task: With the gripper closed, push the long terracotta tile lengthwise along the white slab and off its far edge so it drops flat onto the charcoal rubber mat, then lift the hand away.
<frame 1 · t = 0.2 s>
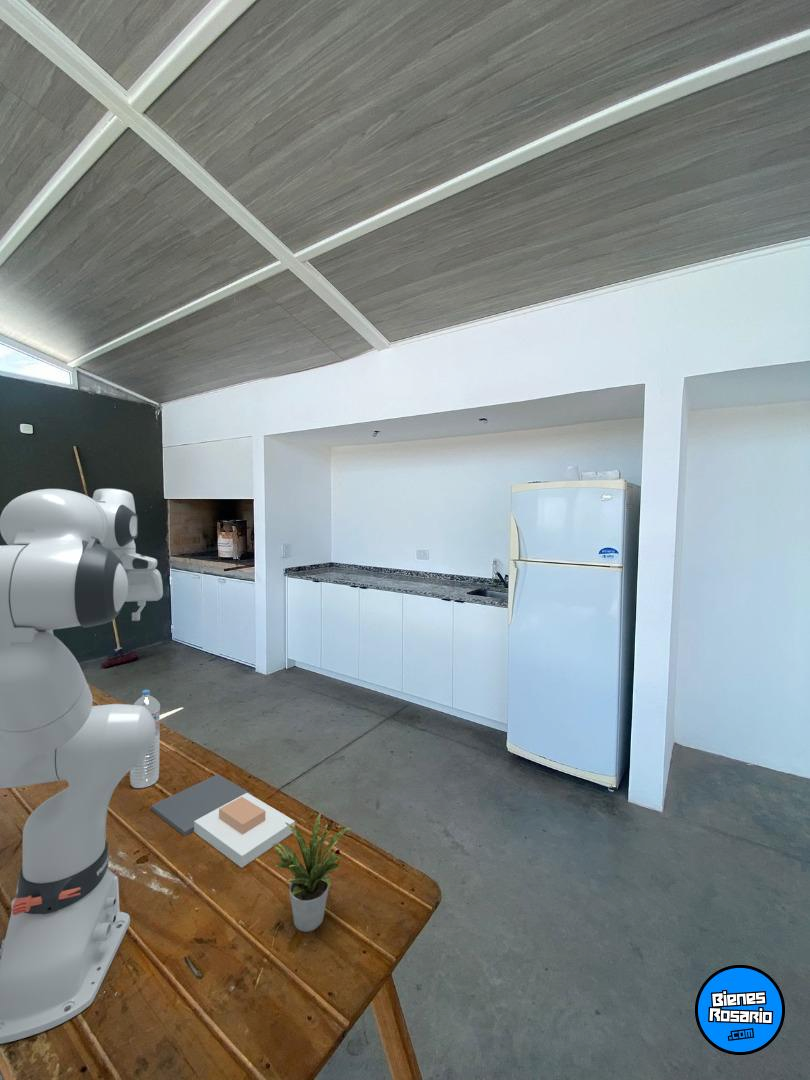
hand: (112, 621, 103), 48 cm above the table, tool pointing down, fingers open, 8 cm apart
terracotta tile: (242, 819, 104), point 2 cm above the table, touching white slab
house plant: (314, 914, 82), on the table
water bottle: (144, 782, 122), on the table
white slab: (244, 831, 103), on the table
rubber mat: (203, 803, 113), on the table
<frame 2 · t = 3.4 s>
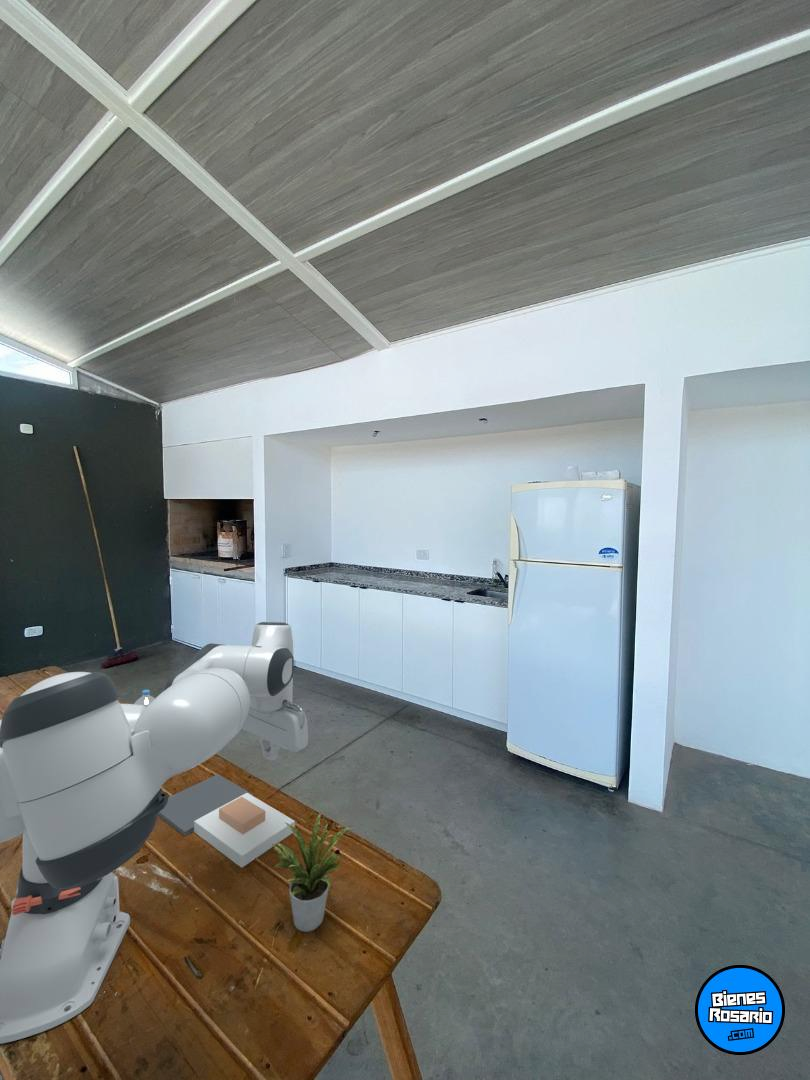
hand: (270, 758, 98), 20 cm above the table, tool pointing down, fingers closed
nothing on the table moved.
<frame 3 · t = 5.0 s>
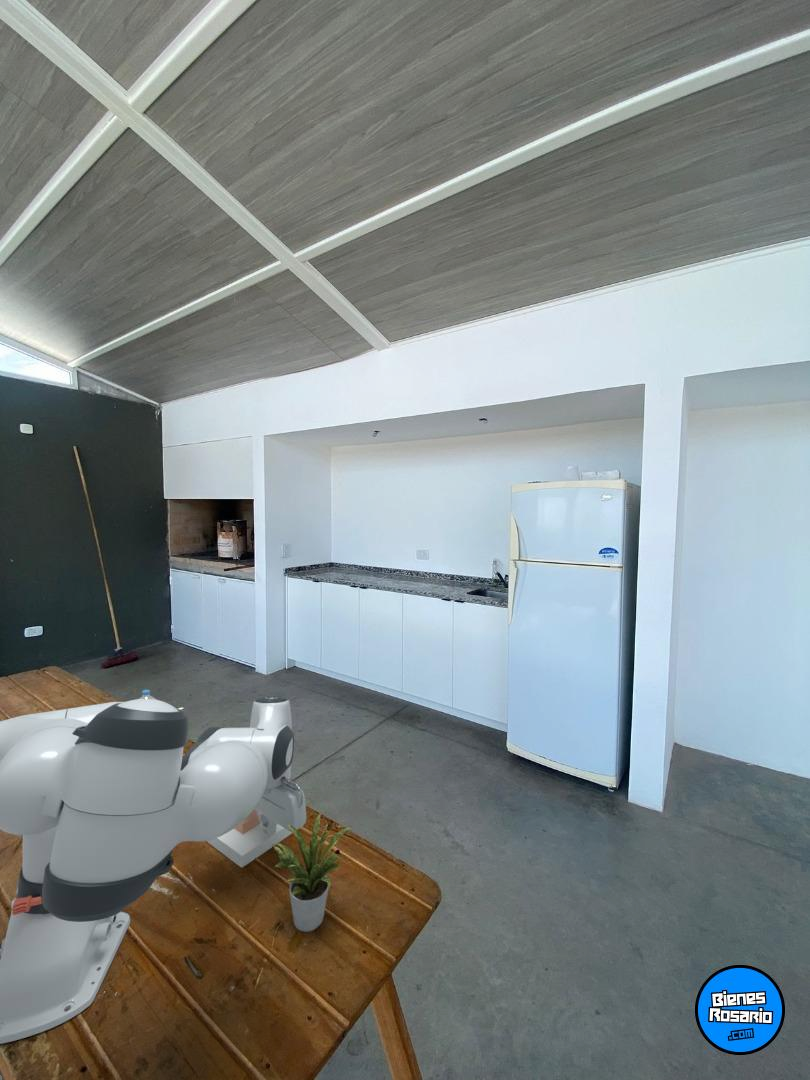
hand: (268, 832, 98), 3 cm above the table, tool pointing down, fingers closed
nothing on the table moved.
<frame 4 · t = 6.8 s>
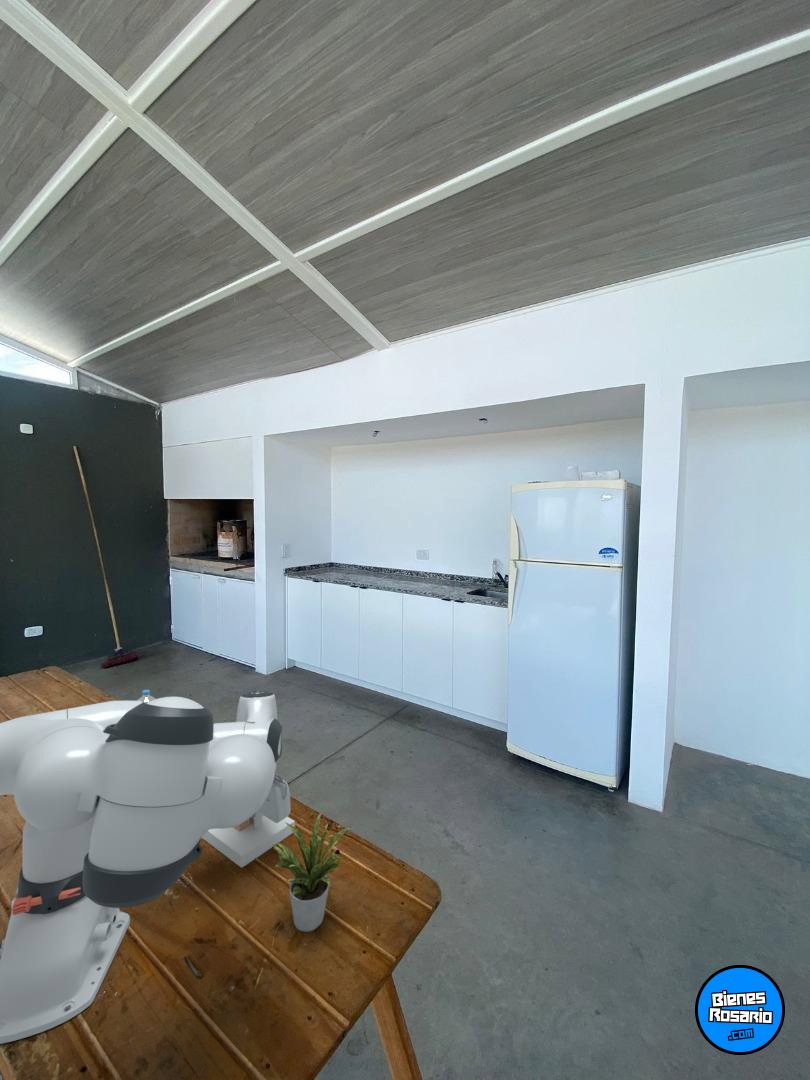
hand: (254, 823, 101), 3 cm above the table, tool pointing down, fingers closed
terracotta tile: (239, 817, 105), point 3 cm above the table, touching gripper
everything else where it was.
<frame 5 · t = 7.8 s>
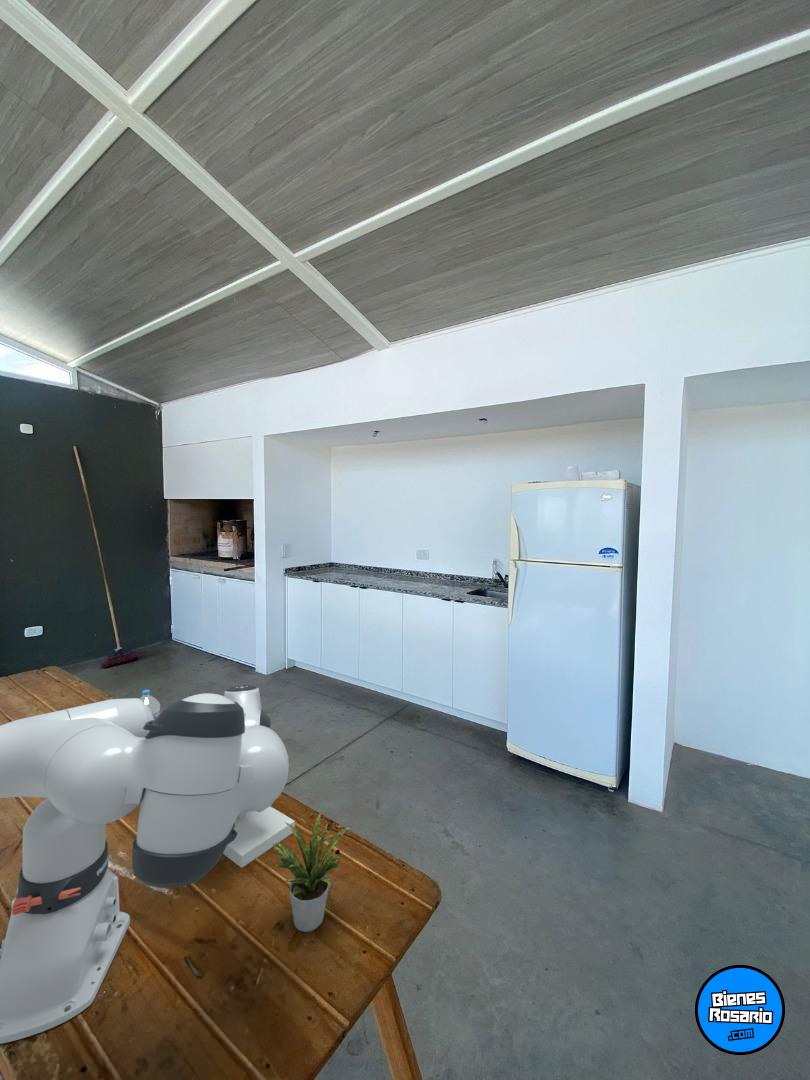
hand: (239, 813, 105), 3 cm above the table, tool pointing down, fingers closed
terracotta tile: (225, 807, 108), point 3 cm above the table, touching gripper
everything else where it was.
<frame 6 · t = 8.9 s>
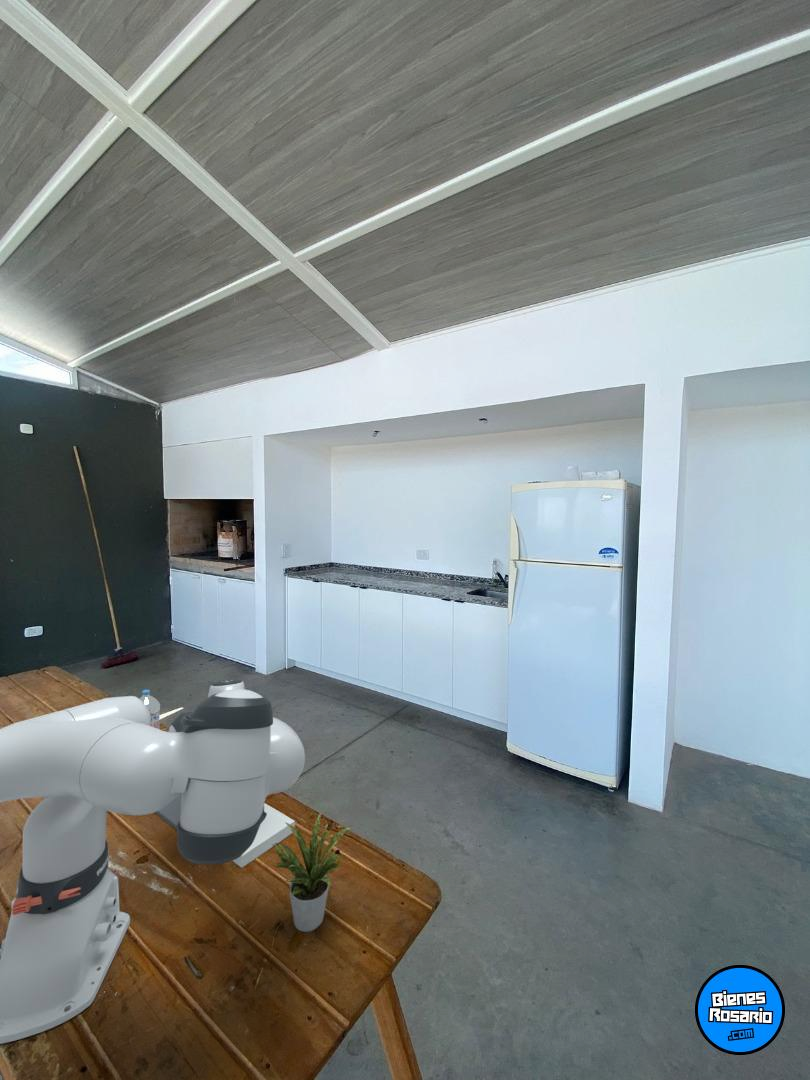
hand: (224, 804, 108), 3 cm above the table, tool pointing down, fingers closed
terracotta tile: (211, 804, 112), point 1 cm above the table, touching rubber mat
everything else where it was.
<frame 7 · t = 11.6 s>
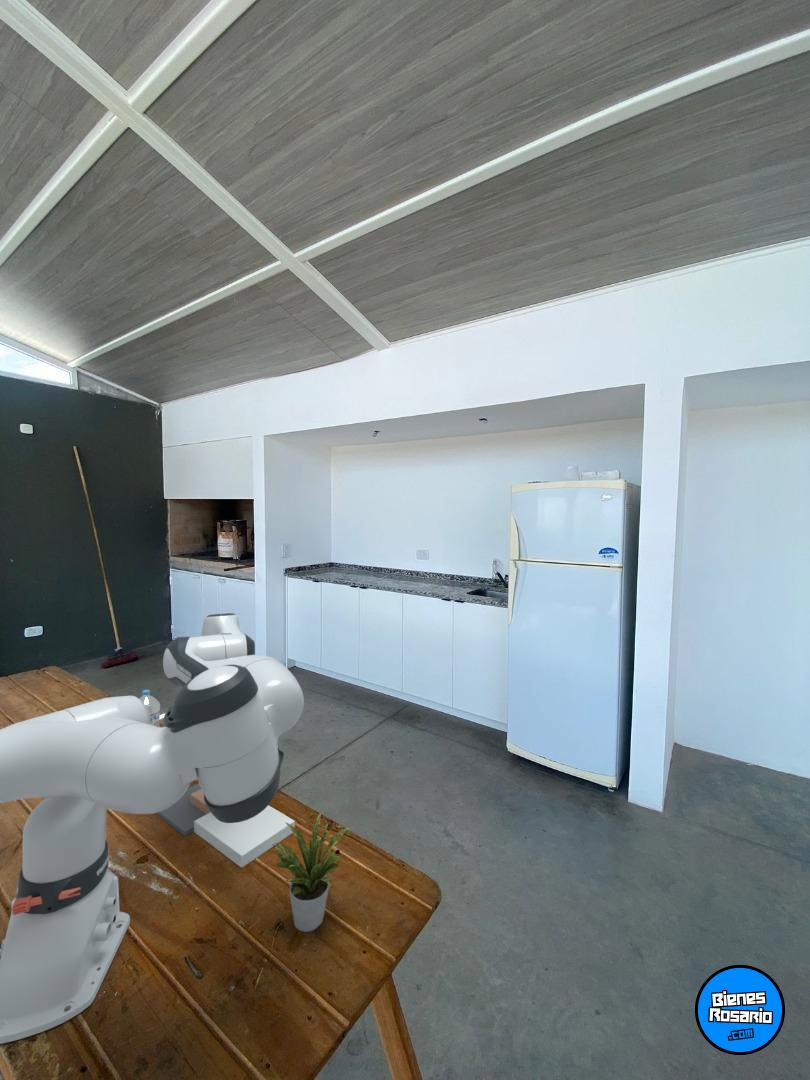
hand: (218, 735, 109), 19 cm above the table, tool pointing down, fingers closed
nothing on the table moved.
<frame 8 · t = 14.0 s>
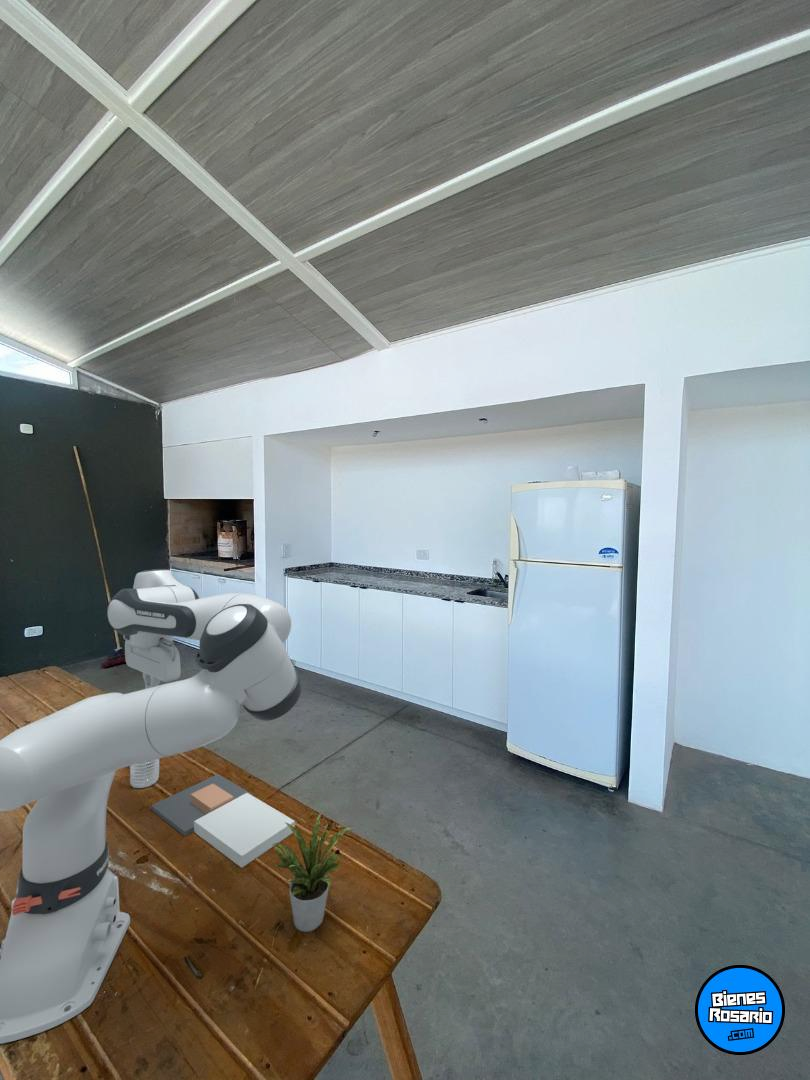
hand: (152, 691, 110), 29 cm above the table, tool pointing down, fingers closed
nothing on the table moved.
at the end: terracotta tile point 1.0 cm above the table; terracotta tile 3.2 cm from the rubber mat (horizontally); terracotta tile tilted 0° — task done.
